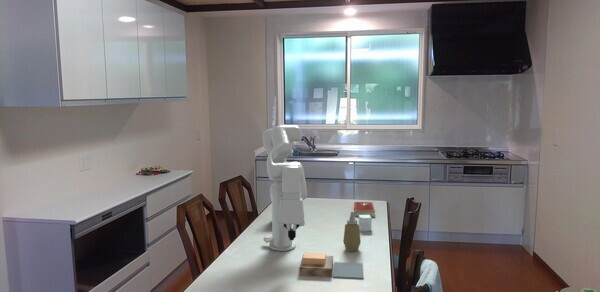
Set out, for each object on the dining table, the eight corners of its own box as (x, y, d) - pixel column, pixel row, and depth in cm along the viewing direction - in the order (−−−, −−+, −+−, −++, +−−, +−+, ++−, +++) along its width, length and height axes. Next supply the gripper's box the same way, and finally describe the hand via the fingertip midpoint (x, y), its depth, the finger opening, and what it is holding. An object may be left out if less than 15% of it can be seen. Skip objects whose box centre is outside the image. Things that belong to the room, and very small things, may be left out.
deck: (299, 275, 165) (299, 267, 165) (303, 262, 178) (303, 254, 177) (331, 277, 163) (331, 268, 163) (333, 263, 176) (333, 255, 176)
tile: (302, 263, 168) (302, 257, 168) (304, 257, 174) (304, 252, 173) (324, 264, 167) (324, 258, 166) (325, 258, 173) (325, 253, 172)
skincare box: (369, 227, 224) (369, 214, 223) (371, 231, 218) (371, 217, 217) (358, 227, 224) (358, 214, 223) (360, 231, 218) (360, 217, 217)
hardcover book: (354, 217, 245) (354, 210, 244) (354, 207, 265) (354, 201, 265) (374, 217, 243) (374, 210, 243) (372, 208, 264) (372, 201, 264)
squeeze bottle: (347, 253, 188) (347, 215, 185) (340, 247, 195) (340, 210, 193) (363, 251, 190) (363, 213, 187) (356, 245, 197) (356, 209, 195)
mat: (332, 277, 163) (332, 276, 163) (334, 263, 177) (334, 262, 177) (363, 279, 161) (363, 277, 161) (362, 264, 175) (362, 263, 175)
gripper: (271, 197, 165) (272, 241, 167) (308, 198, 163) (309, 242, 165) (275, 193, 172) (275, 235, 174) (310, 194, 171) (310, 237, 172)
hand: (291, 239), depth 170 cm, fingers closed
